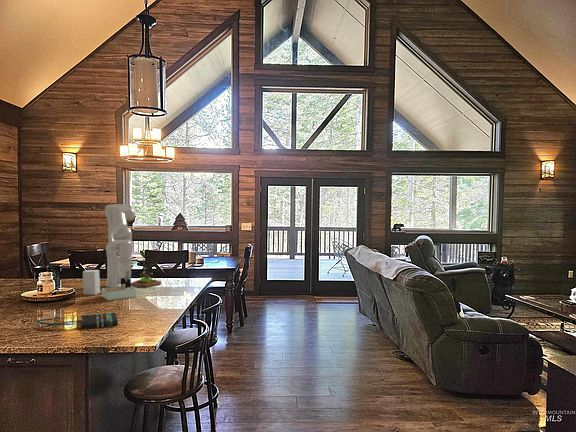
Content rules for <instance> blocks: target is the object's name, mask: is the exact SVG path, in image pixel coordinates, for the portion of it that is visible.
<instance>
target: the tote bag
mask: <svg viewBox="0 0 576 432" xmlns="http://www.w3.org/2000/svg"><path fill="white" fill-rule="evenodd" d="M70 318H73V316H72V317H67V319H70ZM77 318H81V322H80V323H79V322H78V323H74V322H77V320H69V321H61V322H56V323H51V322H44V321H51V320H53V321H54V320H59V319H60V320H62V319H64V317H58V318H57V317H54V318H45V319H44V318H43V319H38V320H36V324H37V323H38V324H40V325H43V326H40V327H38V328H36V330H37V331H39V330H40V329H42V330H43V331H42V332H44V331H46V332H50V331H60V330H61V331H62V330H64V328H60V329H59V328H58V329H57V328H56V329H43V328H48V327H53V326H71V325H72V326H74V325H80V324H81V326H80V327H75V328H73V327H72V328H71V330H73V329H78V330H79V329H80V330H82V329H83V330H84V329H101V327H102V328H110V327H109V326H112V327H118V322H119V321H118V317H117V312H108V313H107V312H105V313H95V314H83V315H80V316H77ZM39 328H40V329H39Z"/></svg>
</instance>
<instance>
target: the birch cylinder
mask: <svg viewBox="0 0 576 432" xmlns="http://www.w3.org/2000/svg"><path fill="white" fill-rule="evenodd" d="M127 289H130V287H129V288H125V284H122V285H121V290H127Z"/></svg>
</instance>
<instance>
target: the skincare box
mask: <svg viewBox="0 0 576 432" xmlns="http://www.w3.org/2000/svg"><path fill="white" fill-rule="evenodd" d="M100 280H101V279H100V269H87V270H84V271H82V286H83V288H82V289H83V295H84V296H85V295H89V296H92V295H98V294H100V293H101V285H100V284H101V283H100V282H101V281H100Z"/></svg>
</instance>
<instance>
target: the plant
mask: <svg viewBox="0 0 576 432" xmlns="http://www.w3.org/2000/svg"><path fill="white" fill-rule="evenodd" d="M150 275H151V276H152V275H154V274H153V272H151V271H150V272H148V273H147V271H146V270H143V271H142V272H141V273H140V275H139V276H143V277H139V279H137V280H135V281H131V286H132V287H134V288H136V289H139V288H141V289H147V288H153V287H158V286H161V285H162V281H160V280H157V279H154V277H151V276H150Z"/></svg>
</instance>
